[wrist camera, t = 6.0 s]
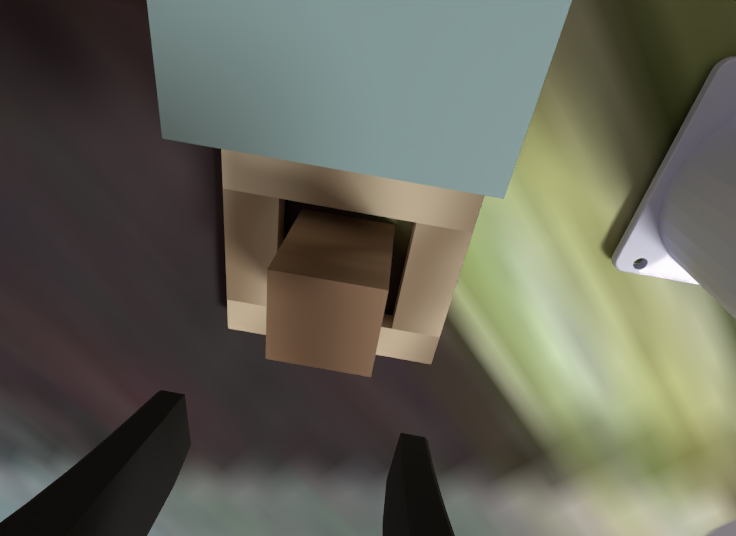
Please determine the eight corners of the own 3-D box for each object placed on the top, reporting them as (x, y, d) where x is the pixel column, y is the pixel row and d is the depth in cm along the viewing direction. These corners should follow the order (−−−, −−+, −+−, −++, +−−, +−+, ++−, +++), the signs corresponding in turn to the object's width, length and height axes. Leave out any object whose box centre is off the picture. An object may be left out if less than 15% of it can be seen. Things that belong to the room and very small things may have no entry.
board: (555, -57, 12) (565, -62, 12) (430, 350, 21) (430, 364, 20) (224, -115, 12) (210, -124, 12) (235, 315, 21) (228, 328, 20)
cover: (525, -43, 12) (598, -77, 7) (474, 137, 14) (503, 198, 10) (242, -92, 12) (128, -160, 7) (244, 96, 14) (162, 138, 10)
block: (395, 224, 18) (388, 290, 14) (380, 299, 20) (370, 377, 16) (302, 208, 18) (267, 269, 14) (297, 284, 20) (265, 358, 16)
